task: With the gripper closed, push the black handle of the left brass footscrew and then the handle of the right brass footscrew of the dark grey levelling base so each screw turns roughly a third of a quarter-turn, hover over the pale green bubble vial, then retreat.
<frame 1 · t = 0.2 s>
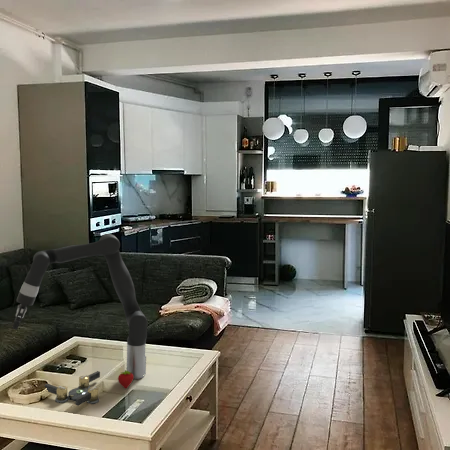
hand: (15, 326, 228), 31 cm above the table, tool tilted 20°, fingers open, 8 cm apart
footscrew 2: (86, 396, 221), point 4 cm above the table, hinge at 0.0°
strawberry: (125, 388, 239), on the table
footscrew back: (89, 378, 239), point 4 cm above the table, hinge at 0.0°
levelling base: (79, 396, 229), on the table
footscrew 1: (55, 390, 226), point 4 cm above the table, hinge at 0.0°
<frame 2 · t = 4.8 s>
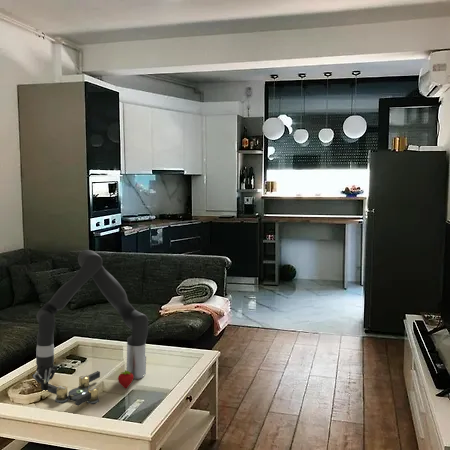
hand: (44, 390, 226), 3 cm above the table, tool pointing down, fingers closed
footscrew 1: (55, 390, 226), point 4 cm above the table, hinge at -1.0°, touching gripper
everything else where it was.
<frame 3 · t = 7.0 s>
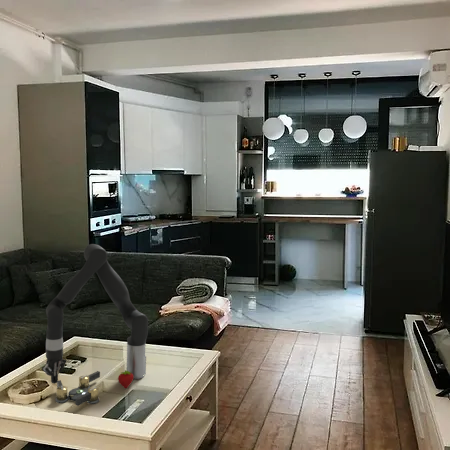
hand: (54, 382, 231), 5 cm above the table, tool pointing down, fingers closed
footscrew 1: (60, 388, 227), point 4 cm above the table, hinge at -36.1°
everything else where it was.
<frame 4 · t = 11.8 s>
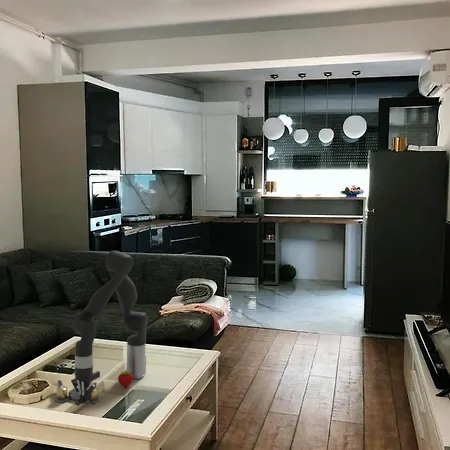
hand: (83, 402, 216), 4 cm above the table, tool pointing down, fingers closed
footscrew 2: (86, 396, 221), point 4 cm above the table, hinge at -0.4°, touching gripper
footscrew 1: (60, 388, 227), point 4 cm above the table, hinge at -36.9°
everything else where it was.
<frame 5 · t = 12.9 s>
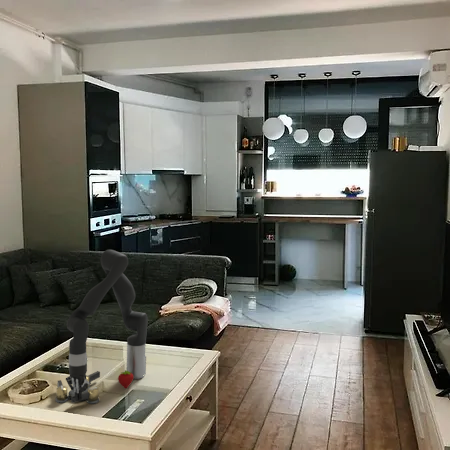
hand: (78, 400, 217), 4 cm above the table, tool pointing down, fingers closed
footscrew 2: (84, 395, 222), point 4 cm above the table, hinge at -23.5°, touching gripper
everything else where it was.
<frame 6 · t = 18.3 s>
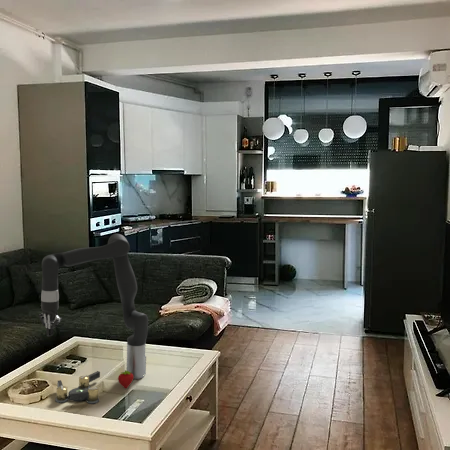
hand: (49, 335, 229), 27 cm above the table, tool pointing down, fingers closed
footscrew 2: (84, 394, 223), point 4 cm above the table, hinge at -38.9°
everything else where it was.
at the end: footscrew 1 at -37° (first picture: +0°); footscrew 2 at -39° (first picture: +0°); footscrew back at +0° (first picture: +0°) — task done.
